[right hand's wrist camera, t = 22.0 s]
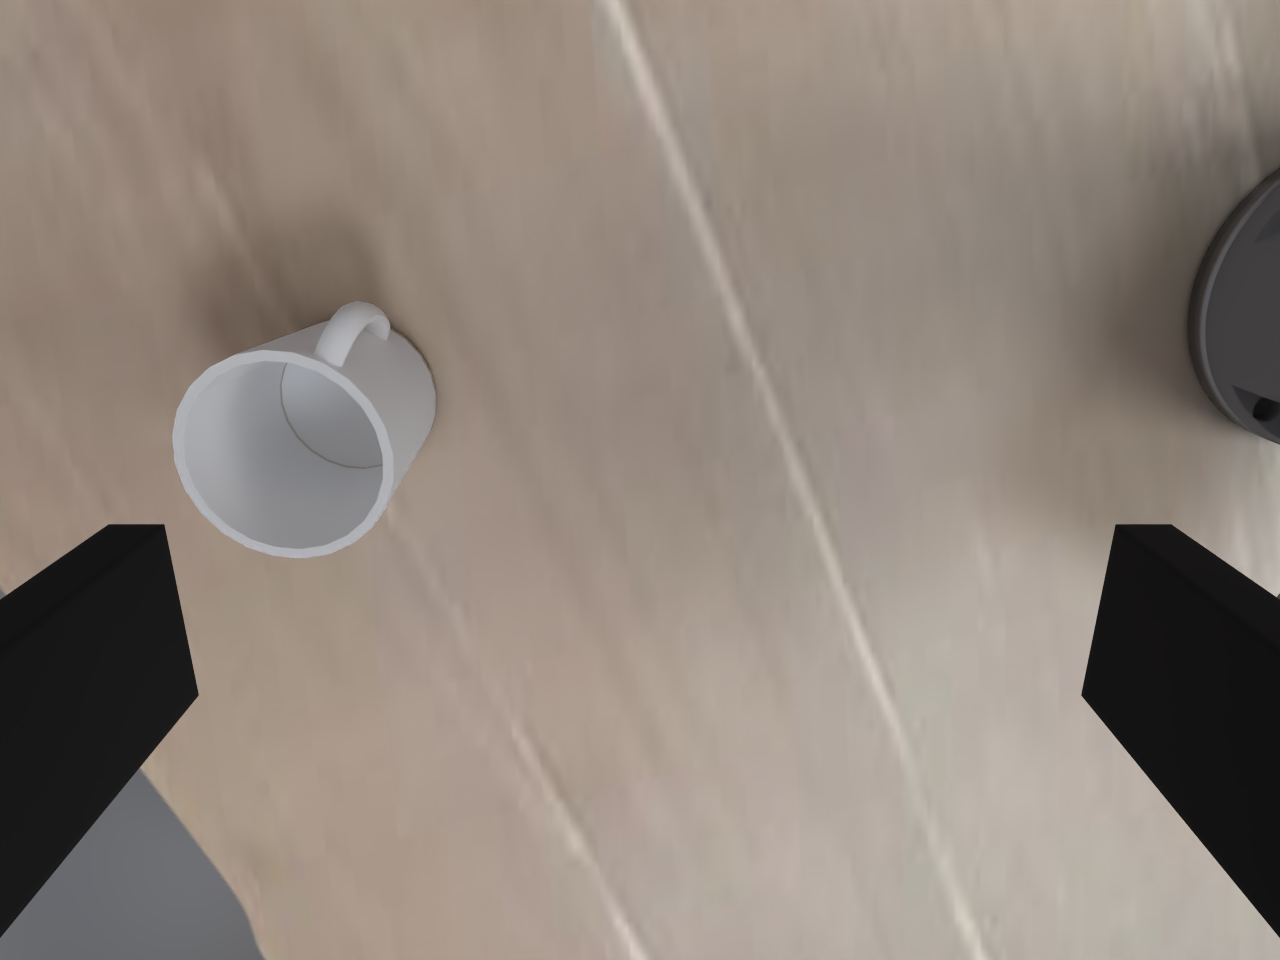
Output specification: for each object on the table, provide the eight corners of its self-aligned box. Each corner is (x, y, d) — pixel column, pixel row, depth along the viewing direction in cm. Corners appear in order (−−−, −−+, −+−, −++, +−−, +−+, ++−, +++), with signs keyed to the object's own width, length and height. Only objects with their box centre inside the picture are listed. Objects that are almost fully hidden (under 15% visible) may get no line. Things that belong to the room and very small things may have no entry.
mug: (407, 503, 48) (347, 591, 38) (248, 429, 46) (144, 502, 36) (491, 322, 44) (448, 368, 35) (323, 236, 43) (229, 260, 33)
